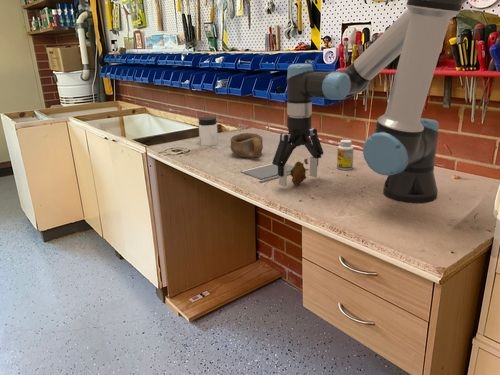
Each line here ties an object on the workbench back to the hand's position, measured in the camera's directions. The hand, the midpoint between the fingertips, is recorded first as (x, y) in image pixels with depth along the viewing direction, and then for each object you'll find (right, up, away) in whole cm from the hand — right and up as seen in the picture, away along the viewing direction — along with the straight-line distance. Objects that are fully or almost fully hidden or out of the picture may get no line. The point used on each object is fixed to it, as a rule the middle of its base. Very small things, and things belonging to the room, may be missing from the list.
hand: (298, 180), depth 138 cm
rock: (+1, -1, +1) cm, 2 cm away
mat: (-9, +4, +16) cm, 18 cm away
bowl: (-16, +10, +36) cm, 40 cm away
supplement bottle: (+19, +5, +16) cm, 25 cm away
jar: (-35, +18, +58) cm, 70 cm away
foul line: (-4, +2, +10) cm, 11 cm away
